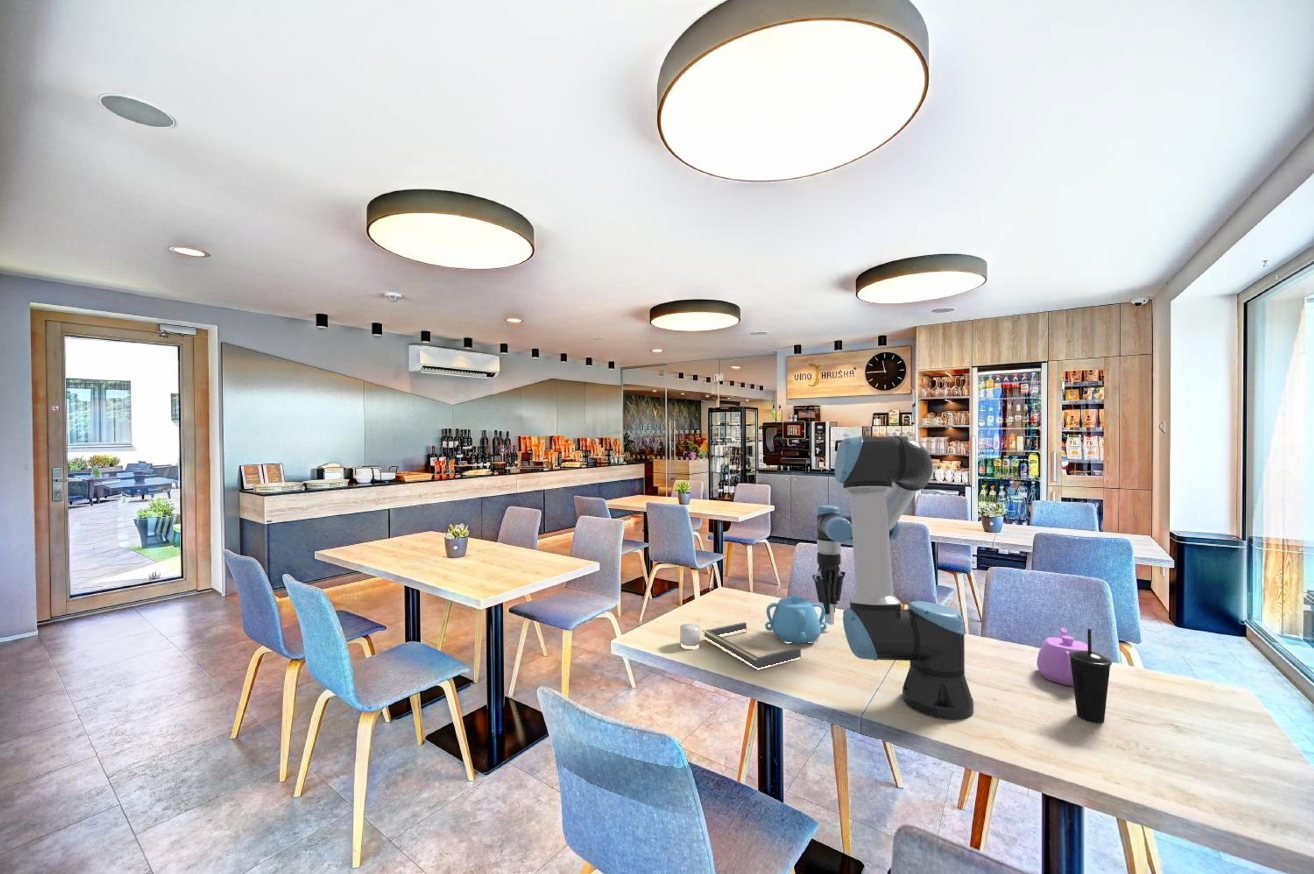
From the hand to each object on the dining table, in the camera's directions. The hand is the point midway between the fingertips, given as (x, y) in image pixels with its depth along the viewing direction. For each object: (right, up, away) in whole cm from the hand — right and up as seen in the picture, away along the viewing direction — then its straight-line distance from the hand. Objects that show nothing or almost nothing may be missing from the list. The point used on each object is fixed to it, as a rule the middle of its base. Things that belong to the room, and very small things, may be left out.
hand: (829, 623), depth 179 cm
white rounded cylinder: (-47, -3, -13) cm, 49 cm away
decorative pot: (-13, -3, -7) cm, 15 cm away
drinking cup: (+41, -2, -58) cm, 70 cm away
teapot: (+51, -2, -37) cm, 63 cm away
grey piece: (-29, -2, -16) cm, 33 cm away
